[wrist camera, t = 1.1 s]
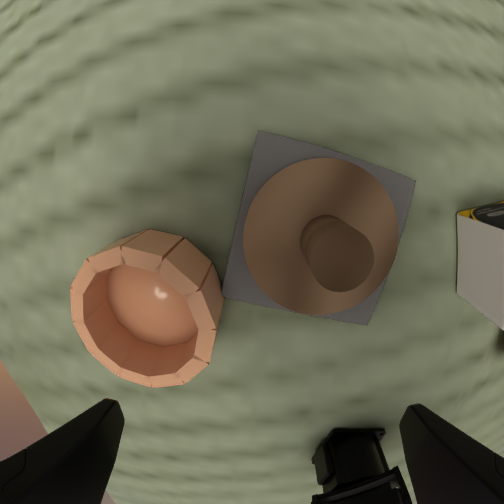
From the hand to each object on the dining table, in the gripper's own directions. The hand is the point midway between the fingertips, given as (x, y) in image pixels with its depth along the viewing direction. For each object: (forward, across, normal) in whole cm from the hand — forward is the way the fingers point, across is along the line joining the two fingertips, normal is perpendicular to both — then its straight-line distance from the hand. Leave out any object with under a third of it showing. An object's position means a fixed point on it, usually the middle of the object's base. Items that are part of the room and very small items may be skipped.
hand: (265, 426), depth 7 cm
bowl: (+13, +7, +2) cm, 15 cm away
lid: (+12, -4, -3) cm, 13 cm away
